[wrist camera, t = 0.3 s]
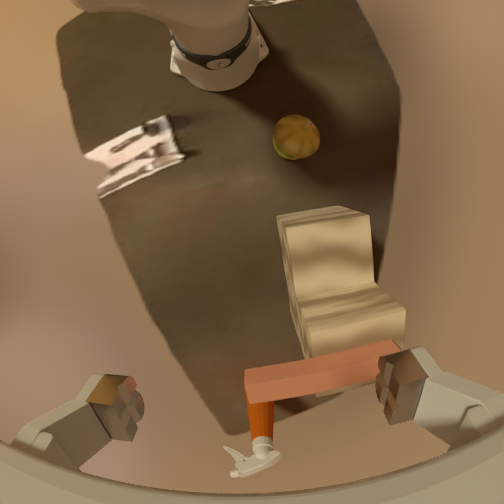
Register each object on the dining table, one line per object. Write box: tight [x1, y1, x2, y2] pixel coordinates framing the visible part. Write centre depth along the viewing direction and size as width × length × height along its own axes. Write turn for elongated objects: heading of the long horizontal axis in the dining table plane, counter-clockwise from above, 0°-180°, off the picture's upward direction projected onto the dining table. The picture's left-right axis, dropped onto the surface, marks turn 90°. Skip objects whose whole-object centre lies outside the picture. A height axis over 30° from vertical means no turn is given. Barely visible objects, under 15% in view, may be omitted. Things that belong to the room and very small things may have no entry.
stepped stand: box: [276, 205, 406, 397], centre depth 45 cm, size 20×12×26 cm, turn 10°
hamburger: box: [273, 115, 321, 160], centre depth 46 cm, size 8×7×12 cm
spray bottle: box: [223, 385, 282, 478], centre depth 51 cm, size 7×11×26 cm, turn 105°
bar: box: [244, 339, 400, 404], centre depth 32 cm, size 3×18×3 cm, turn 100°
